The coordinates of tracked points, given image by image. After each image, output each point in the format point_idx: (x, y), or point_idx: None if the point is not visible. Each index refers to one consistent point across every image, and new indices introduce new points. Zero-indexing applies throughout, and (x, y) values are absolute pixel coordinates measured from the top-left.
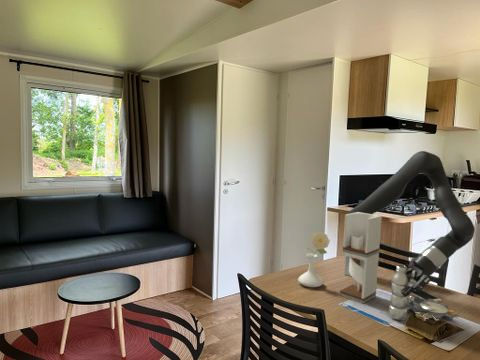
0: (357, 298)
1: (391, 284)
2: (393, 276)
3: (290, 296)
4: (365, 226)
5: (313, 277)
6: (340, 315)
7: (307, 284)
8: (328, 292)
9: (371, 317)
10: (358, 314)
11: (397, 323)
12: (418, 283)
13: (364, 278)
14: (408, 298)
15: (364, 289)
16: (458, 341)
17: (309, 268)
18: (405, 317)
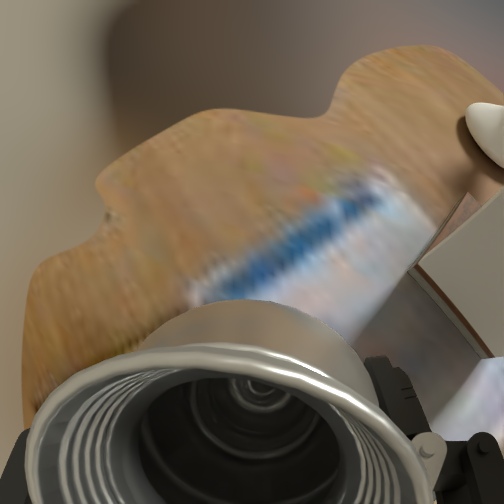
0: (429, 246)
1: (365, 365)
2: (261, 311)
3: (387, 69)
4: None
5: (494, 119)
6: (279, 143)
7: (467, 113)
8: (464, 172)
9: (268, 255)
10: (294, 209)
11: None
12: (6, 468)
13: (480, 210)
14: (435, 495)
15: (443, 246)
16: None
17: None
18: (220, 403)
